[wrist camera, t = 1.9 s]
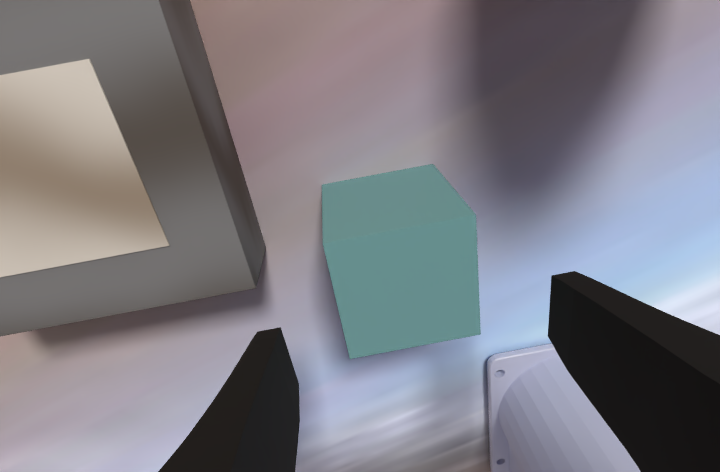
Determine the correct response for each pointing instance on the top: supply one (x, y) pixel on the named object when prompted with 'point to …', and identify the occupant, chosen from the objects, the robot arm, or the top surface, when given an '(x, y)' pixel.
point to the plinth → (114, 165)
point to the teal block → (401, 260)
